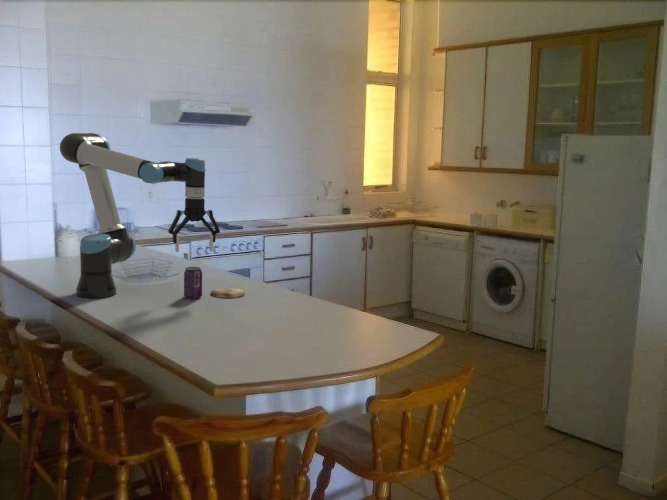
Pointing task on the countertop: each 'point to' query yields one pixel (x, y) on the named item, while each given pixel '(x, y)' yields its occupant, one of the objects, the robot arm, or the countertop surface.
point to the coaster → (227, 293)
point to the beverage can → (193, 282)
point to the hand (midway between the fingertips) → (194, 251)
